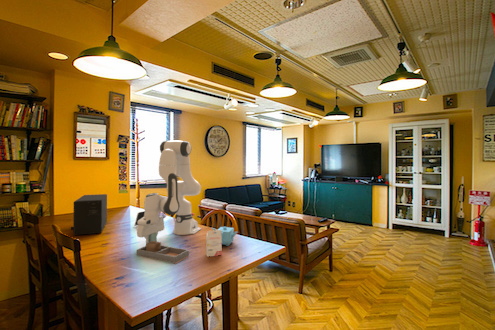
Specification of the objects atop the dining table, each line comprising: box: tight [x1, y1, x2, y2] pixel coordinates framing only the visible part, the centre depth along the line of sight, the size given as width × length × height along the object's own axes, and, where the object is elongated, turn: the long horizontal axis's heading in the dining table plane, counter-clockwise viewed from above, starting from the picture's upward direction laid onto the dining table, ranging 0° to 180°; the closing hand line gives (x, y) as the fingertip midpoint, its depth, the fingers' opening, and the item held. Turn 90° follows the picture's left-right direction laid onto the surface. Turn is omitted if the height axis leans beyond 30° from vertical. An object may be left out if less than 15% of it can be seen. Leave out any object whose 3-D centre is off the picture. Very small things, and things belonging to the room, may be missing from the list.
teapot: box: [211, 226, 238, 247], centre depth 167 cm, size 16×18×11 cm
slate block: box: [145, 233, 158, 245], centre depth 161 cm, size 4×4×8 cm
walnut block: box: [145, 241, 162, 253], centre depth 146 cm, size 5×6×6 cm
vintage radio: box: [70, 193, 108, 236], centre depth 198 cm, size 38×20×25 cm, turn 24°
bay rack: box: [136, 244, 190, 265], centre depth 144 cm, size 12×27×4 cm, turn 67°
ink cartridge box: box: [205, 229, 223, 257], centre depth 147 cm, size 9×5×15 cm, turn 105°
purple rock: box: [134, 210, 167, 227], centre depth 208 cm, size 20×22×18 cm
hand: (151, 240), depth 161 cm, fingers closed on slate block, 4 cm apart
